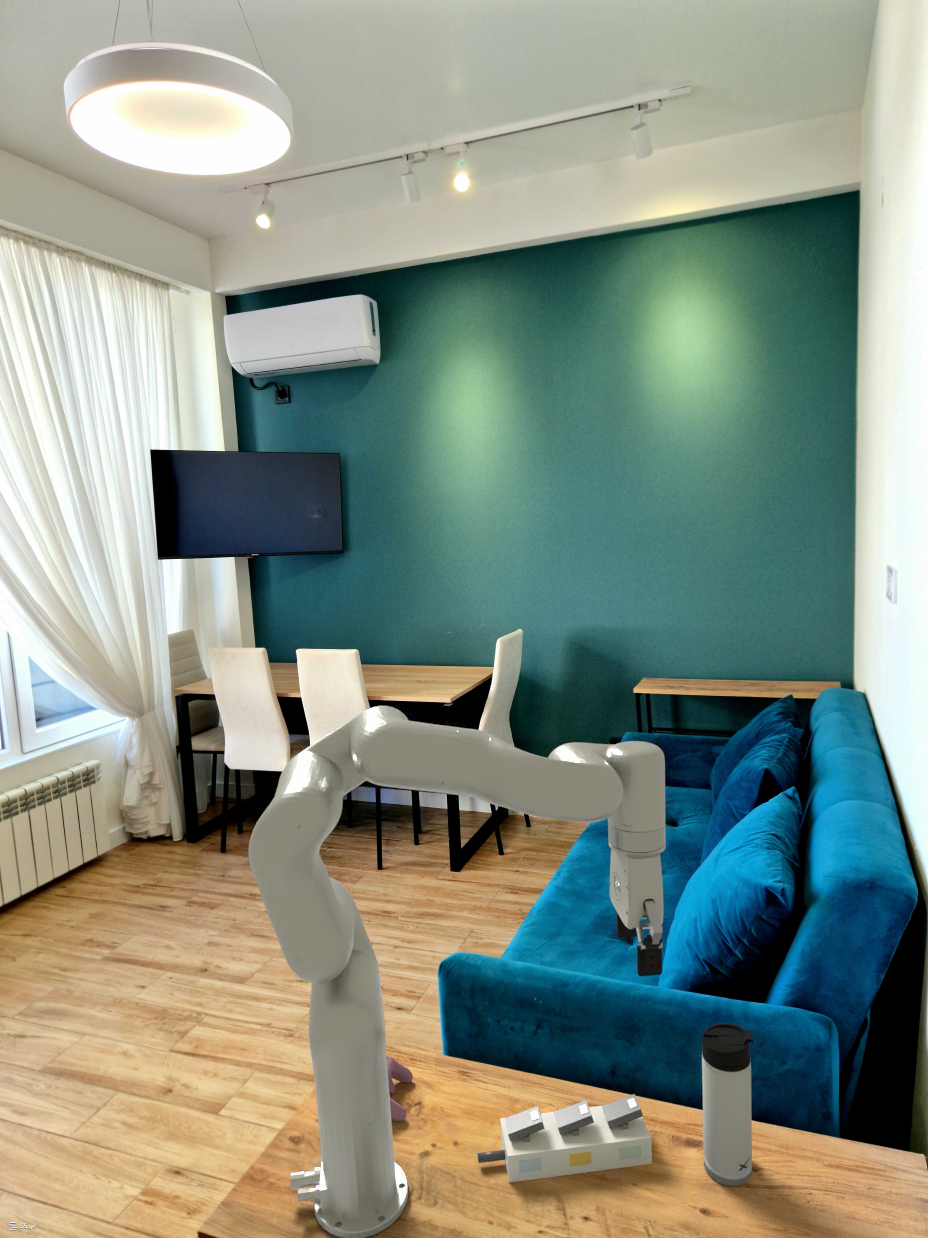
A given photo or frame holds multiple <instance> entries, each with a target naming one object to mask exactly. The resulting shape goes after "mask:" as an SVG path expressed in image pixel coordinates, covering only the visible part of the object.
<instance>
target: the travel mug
mask: <svg viewBox="0 0 928 1238" xmlns="http://www.w3.org/2000/svg"><path fill="white" fill-rule="evenodd" d="M701 1042H702V1043H701V1048H702V1050H701V1068H702V1069H701V1071H702V1072H701V1073H702V1076H701V1079H702V1080H701V1082H702V1119H703V1120H702V1122H703V1123H702V1127H703V1128H702V1129H703V1131H702V1133H703V1166H704V1169H705V1171H706V1173H707V1174H708V1175H709V1177H710V1178H711V1179H713V1180H714V1181H715V1182H717V1183H719V1184H722V1185H724V1186H728V1187H740V1186H742V1185H743V1186H744V1185H745V1184H747V1182H749V1181H750V1180H751V1178H752V1175H753V1143H752V1142H753V1135H752V1134H753V1132H752V1131H753V1130H752V1124H753V1123H752V1065H751V1064H752V1060H751V1046H750V1044H751V1045H754V1037H753V1033H752V1031H750V1030H746V1029H745V1028H743V1027H741V1026H740V1025H737V1024H732V1023H717V1024H713V1025H711V1026H709V1027H708V1028H706V1029H705V1030H704V1032H703V1035H702V1039H701Z"/></svg>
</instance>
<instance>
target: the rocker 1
mask: <svg viewBox="0 0 928 1238" xmlns="http://www.w3.org/2000/svg"><path fill="white" fill-rule="evenodd" d="M541 1113H542V1112H541V1111H540V1108H539V1105H538V1106H535V1107H531V1108H529V1109H526V1110H524V1111H521V1112H519V1113H516V1114H512V1115H510V1116H508V1117H504V1118H505V1122H506V1127H507V1132H508V1136H509V1139H510V1141H514V1140H517V1139H519V1138H522V1137H524V1136H527V1135H530V1134H532V1133H535V1132H538V1131H540V1130H543V1129H545V1128H544V1124H543V1121H542V1117H541Z"/></svg>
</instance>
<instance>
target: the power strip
mask: <svg viewBox="0 0 928 1238" xmlns="http://www.w3.org/2000/svg"><path fill="white" fill-rule="evenodd" d="M604 1105H605V1104H604ZM604 1105H598V1106H597V1105H596V1106H589V1109H590V1112H591V1115H592V1118H593V1120H594V1123H592V1124H589V1125H586V1126H584V1127H581V1128H579V1129H576V1130H573V1131H571V1132H568V1133H565V1134H563V1135H560V1133H559V1130H558V1127H557V1123H556V1120H555V1116H554V1113H553V1112H556V1111H557V1110H556V1111H549V1112H540V1113H541V1117H542V1121H543V1124H544V1128H545V1129H543V1130H540V1131H538V1132H535V1133H532V1134H530V1135H527V1136H524V1137H522V1138H519V1139H517V1140H514V1141H510V1139H509V1136H508V1132H507V1127H506V1122H505V1118H506V1117H500V1118H499V1120H500V1135H501V1139H500V1140H501V1148H502V1149H499V1150H492V1151H491V1150H490V1151H483V1152H478V1153H476V1154H477V1162H478V1164H484V1163H490V1162H498V1161H499V1162H500V1161H504V1163H505V1169H506V1173H507V1178H508V1183H509V1184H510V1183H516V1182H517V1183H518V1182H524V1181H531V1180H538V1179H540V1180H541V1179H546V1178H554V1177H561V1176H563V1177H564V1176H569V1175H577V1174H578V1175H579V1174H585V1173H591V1172H593V1173H594V1172H599V1171H600V1172H601V1171H605V1170H606V1171H608V1170H615V1169H620V1168H621V1169H622V1168H623V1169H624V1168H632V1167H637V1166H645V1165H651V1164H653V1160H652V1159H653V1157H652V1156H653V1155H652V1154H653V1153H652V1136H651V1134H650V1131H649V1129H648V1127H647V1125H646V1123H645V1120H644V1118H643V1117H644V1116H643V1117H640V1118H638V1119H635V1120H632V1121H630V1122H627V1123H624V1124H622V1125H619V1126H616V1127H614V1128H611V1129H610V1128H609V1126H608V1123H607V1120H606V1118H605V1115H604V1112H603V1109H602V1106H604Z"/></svg>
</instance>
